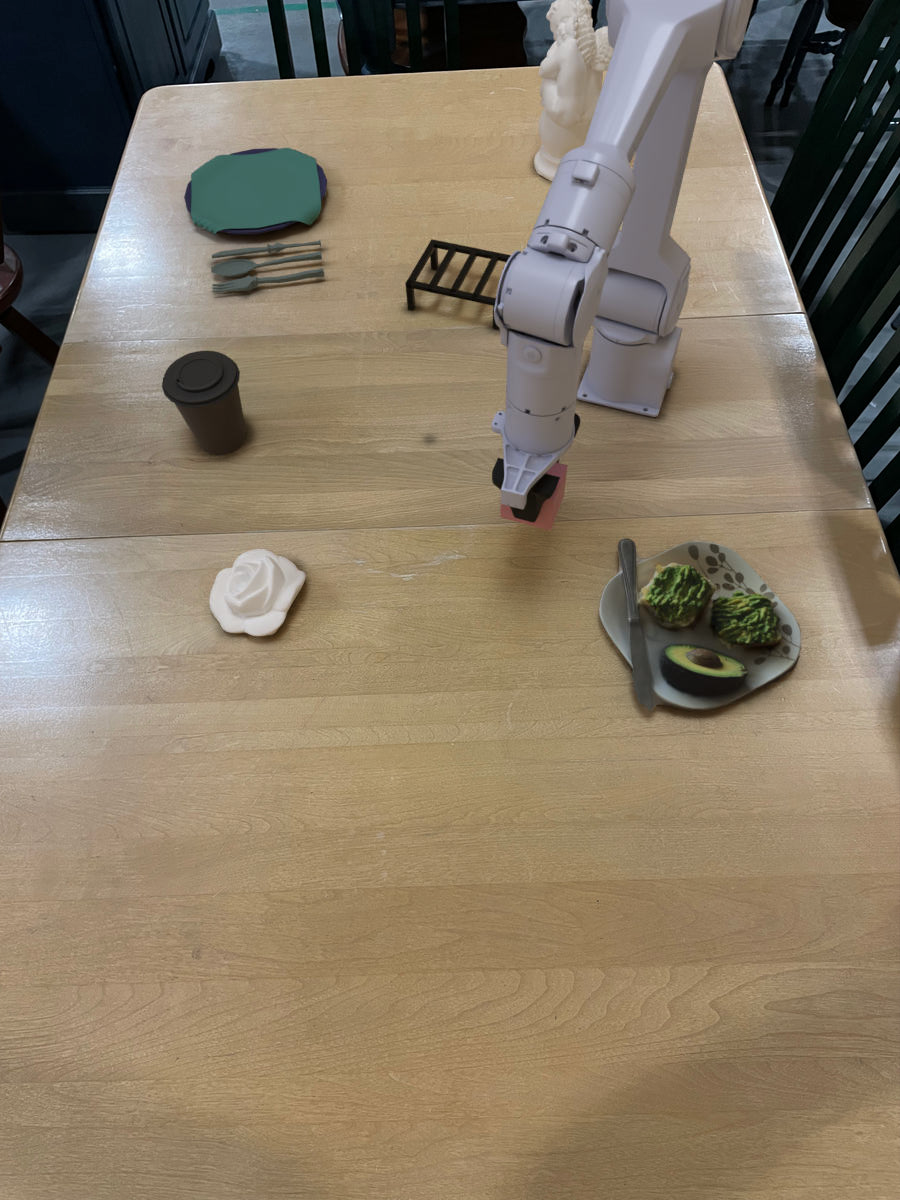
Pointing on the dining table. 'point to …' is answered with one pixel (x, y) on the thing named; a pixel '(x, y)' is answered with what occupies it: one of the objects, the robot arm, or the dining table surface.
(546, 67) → the cherub figurine
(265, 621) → the rose
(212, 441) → the coffee cup
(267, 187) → the cutlery set
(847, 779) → the dining table surface
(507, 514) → the pink box
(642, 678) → the avocado toast plate
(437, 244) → the rack
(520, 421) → the robot arm
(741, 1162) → the dining table surface
